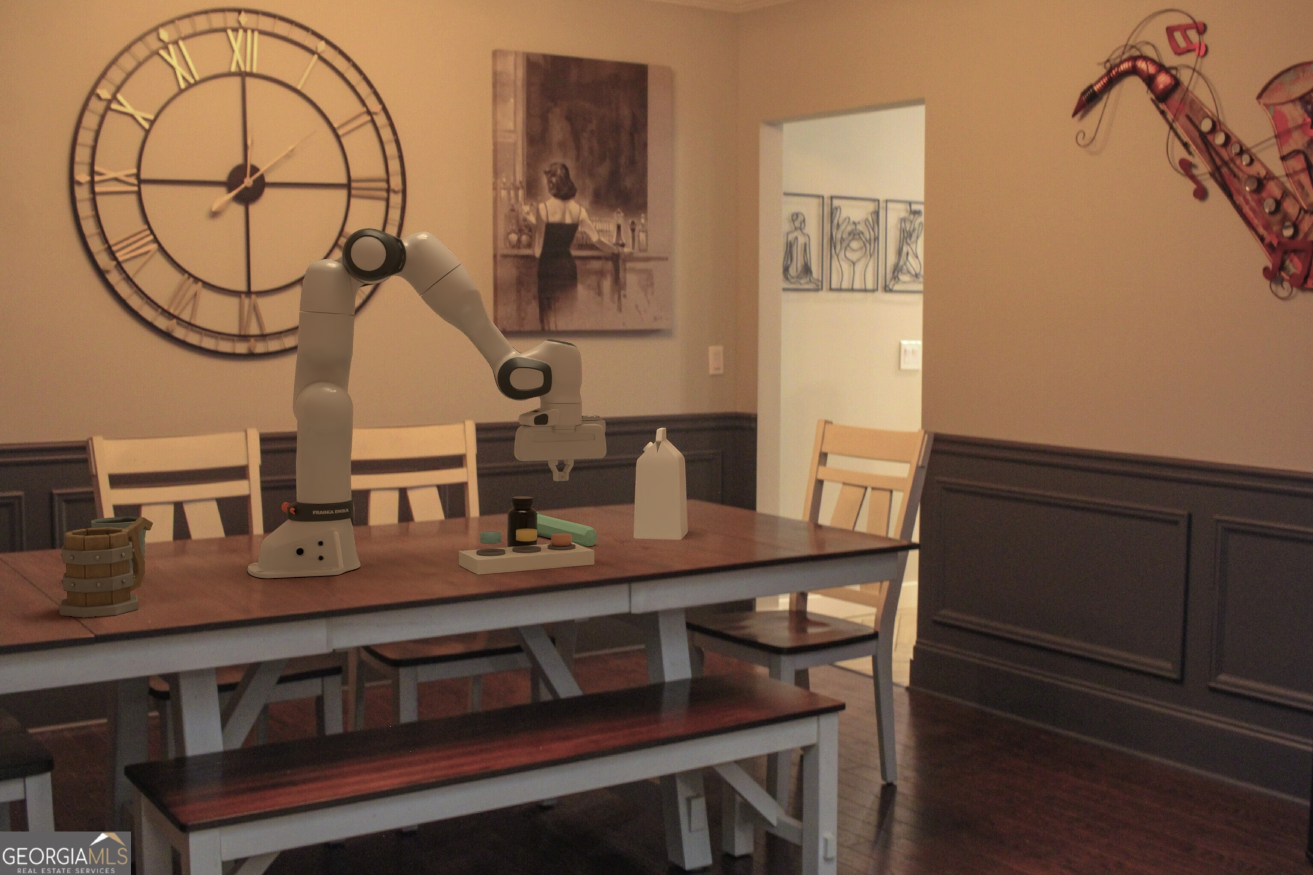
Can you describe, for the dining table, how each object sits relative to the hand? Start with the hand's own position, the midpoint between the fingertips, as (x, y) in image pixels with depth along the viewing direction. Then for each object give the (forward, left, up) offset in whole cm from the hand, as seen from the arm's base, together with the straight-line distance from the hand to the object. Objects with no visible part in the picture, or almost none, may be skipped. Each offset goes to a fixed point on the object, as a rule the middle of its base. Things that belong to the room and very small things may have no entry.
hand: (560, 480), depth 273 cm
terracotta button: (0, 0, -14) cm, 14 cm away
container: (+12, +27, -18) cm, 34 cm away
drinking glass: (-86, +21, -18) cm, 90 cm away
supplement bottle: (-2, +18, -18) cm, 25 cm away
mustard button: (-8, 0, -12) cm, 15 cm away
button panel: (-8, 0, -18) cm, 19 cm away
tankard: (-89, -5, -18) cm, 91 cm away
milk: (+36, +23, -18) cm, 46 cm away
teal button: (-16, 0, -12) cm, 20 cm away
